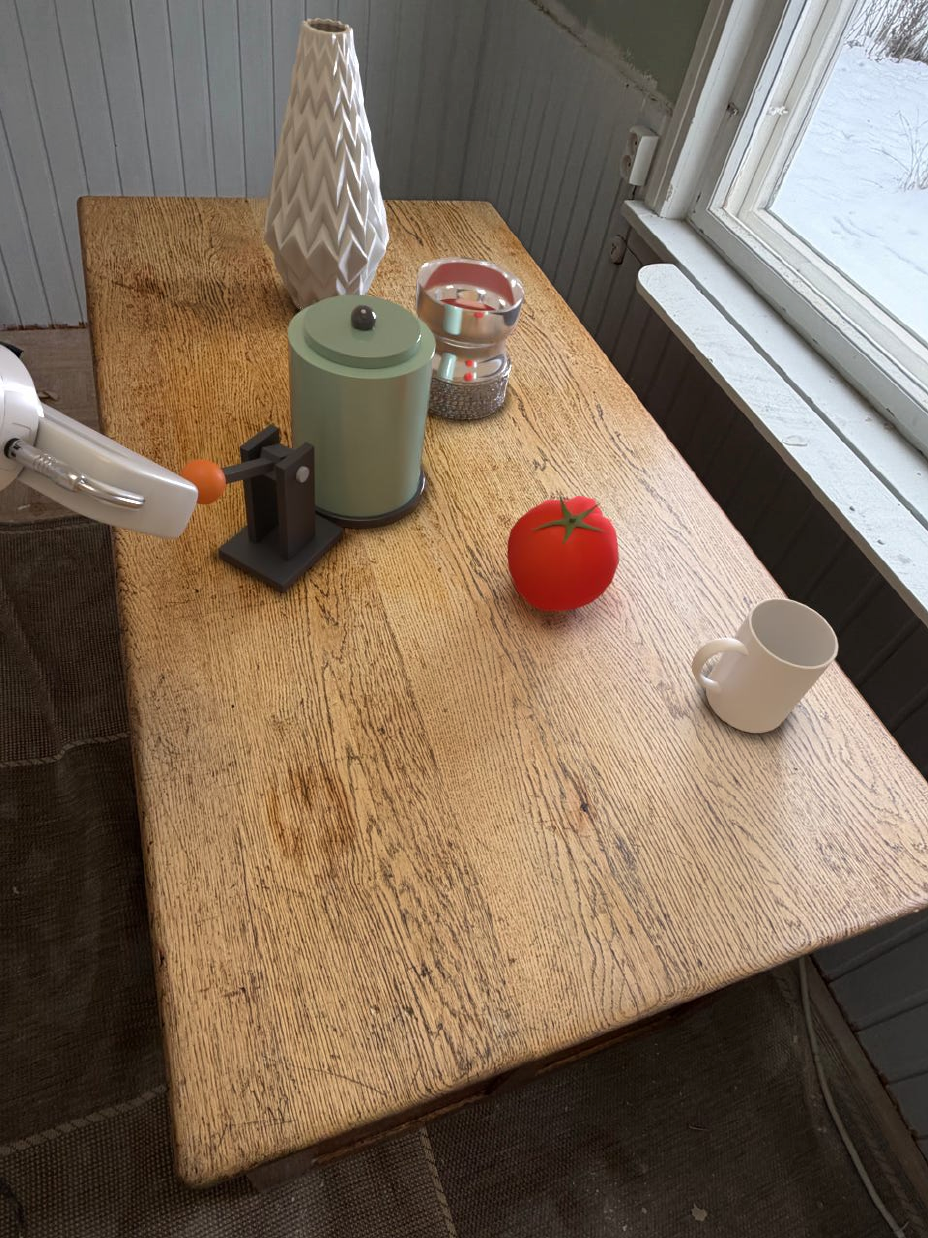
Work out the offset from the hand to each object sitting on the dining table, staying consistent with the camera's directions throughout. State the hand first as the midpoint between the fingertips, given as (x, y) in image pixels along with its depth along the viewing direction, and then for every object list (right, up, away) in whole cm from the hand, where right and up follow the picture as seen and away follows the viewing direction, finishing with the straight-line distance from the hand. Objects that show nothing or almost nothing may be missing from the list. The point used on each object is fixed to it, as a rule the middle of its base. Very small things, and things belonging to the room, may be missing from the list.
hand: (125, 466), depth 54 cm
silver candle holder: (+22, +21, +49) cm, 58 cm away
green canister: (+11, +5, +34) cm, 36 cm away
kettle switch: (+4, +1, +14) cm, 14 cm away
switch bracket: (+5, -3, +26) cm, 26 cm away
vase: (+4, +34, +57) cm, 67 cm away
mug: (+49, -19, +21) cm, 56 cm away
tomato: (+33, -7, +27) cm, 43 cm away
